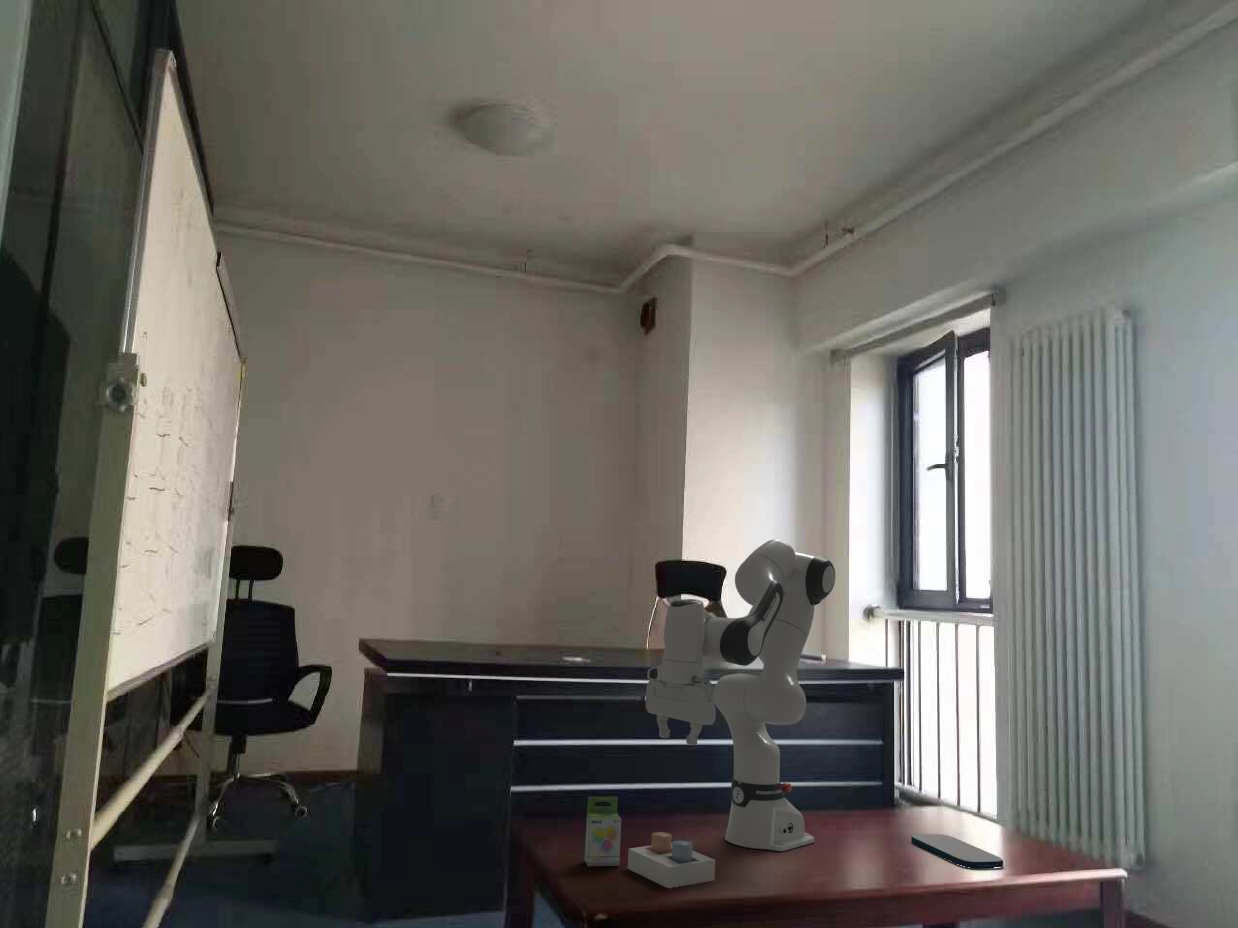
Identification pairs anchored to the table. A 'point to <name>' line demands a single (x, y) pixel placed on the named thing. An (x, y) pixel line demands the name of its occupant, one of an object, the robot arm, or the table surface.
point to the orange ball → (661, 843)
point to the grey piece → (682, 851)
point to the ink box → (602, 833)
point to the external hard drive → (956, 851)
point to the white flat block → (670, 867)
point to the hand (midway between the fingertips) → (677, 740)
